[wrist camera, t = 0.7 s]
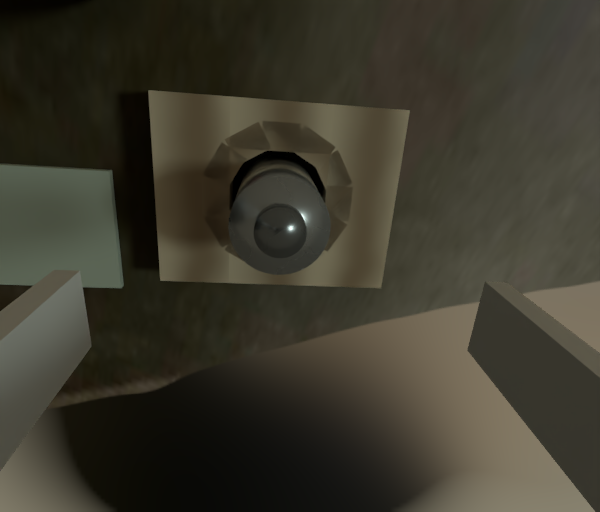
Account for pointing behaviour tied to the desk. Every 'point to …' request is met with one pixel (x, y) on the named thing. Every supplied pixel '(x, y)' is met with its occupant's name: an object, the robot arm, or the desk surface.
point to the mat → (58, 225)
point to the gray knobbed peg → (278, 217)
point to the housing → (251, 142)
